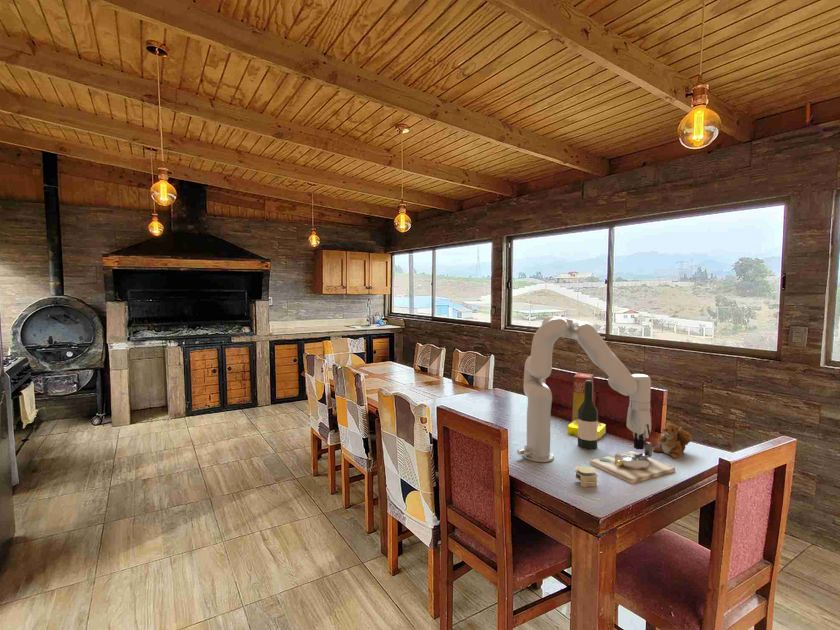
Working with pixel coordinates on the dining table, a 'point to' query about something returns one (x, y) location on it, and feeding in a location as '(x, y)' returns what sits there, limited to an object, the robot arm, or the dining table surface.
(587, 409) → the wine bottle
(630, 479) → the stand board
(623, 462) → the silver rounded piece
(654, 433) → the dining table surface
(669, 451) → the stuffed squirrel
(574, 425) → the element tile
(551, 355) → the robot arm
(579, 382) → the food packaging
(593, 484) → the tan layered block
